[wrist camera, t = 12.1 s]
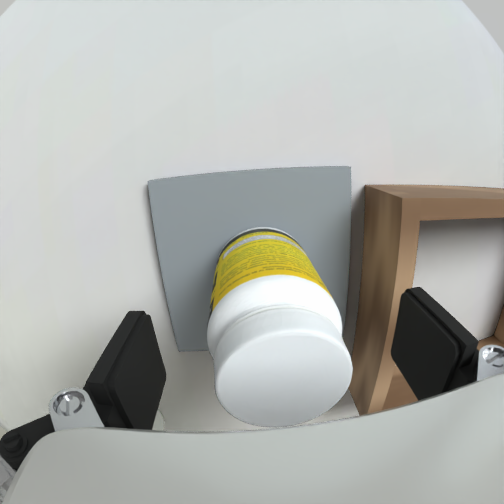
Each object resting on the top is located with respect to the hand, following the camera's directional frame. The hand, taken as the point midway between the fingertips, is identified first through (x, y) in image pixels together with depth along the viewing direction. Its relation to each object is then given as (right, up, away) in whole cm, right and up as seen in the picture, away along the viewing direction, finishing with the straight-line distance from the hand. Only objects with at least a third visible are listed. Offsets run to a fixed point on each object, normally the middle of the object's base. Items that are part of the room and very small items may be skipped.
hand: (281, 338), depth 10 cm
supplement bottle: (-1, +2, +5) cm, 6 cm away
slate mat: (-1, +2, +6) cm, 6 cm away
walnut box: (+13, +1, +7) cm, 15 cm away
